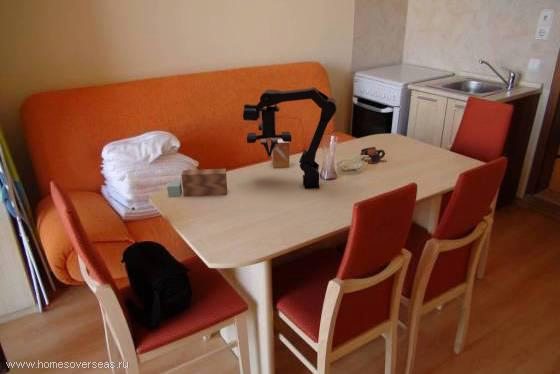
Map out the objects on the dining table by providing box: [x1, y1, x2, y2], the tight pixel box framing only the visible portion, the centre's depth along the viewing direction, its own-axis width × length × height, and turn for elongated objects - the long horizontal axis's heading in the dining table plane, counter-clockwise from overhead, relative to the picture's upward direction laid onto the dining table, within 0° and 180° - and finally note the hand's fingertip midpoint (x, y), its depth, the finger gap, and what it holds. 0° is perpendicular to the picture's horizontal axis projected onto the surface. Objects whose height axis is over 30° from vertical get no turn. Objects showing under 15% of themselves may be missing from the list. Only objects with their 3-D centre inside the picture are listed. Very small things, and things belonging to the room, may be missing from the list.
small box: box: [271, 139, 290, 169], centre depth 209 cm, size 8×6×13 cm
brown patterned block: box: [181, 168, 228, 197], centre depth 183 cm, size 18×5×10 cm, turn 94°
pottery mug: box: [360, 146, 386, 165], centre depth 216 cm, size 12×10×8 cm
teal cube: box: [166, 180, 183, 198], centre depth 183 cm, size 5×5×5 cm
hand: (269, 156), depth 187 cm, fingers closed
